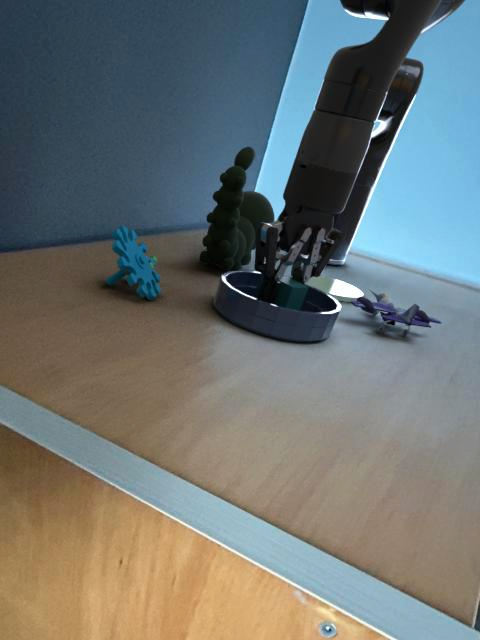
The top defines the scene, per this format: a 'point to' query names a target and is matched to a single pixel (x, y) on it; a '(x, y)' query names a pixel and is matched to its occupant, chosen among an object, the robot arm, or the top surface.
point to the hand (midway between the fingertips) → (274, 306)
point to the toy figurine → (235, 217)
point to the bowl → (275, 310)
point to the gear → (134, 264)
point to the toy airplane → (394, 312)
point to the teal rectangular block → (287, 293)
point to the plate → (335, 288)
